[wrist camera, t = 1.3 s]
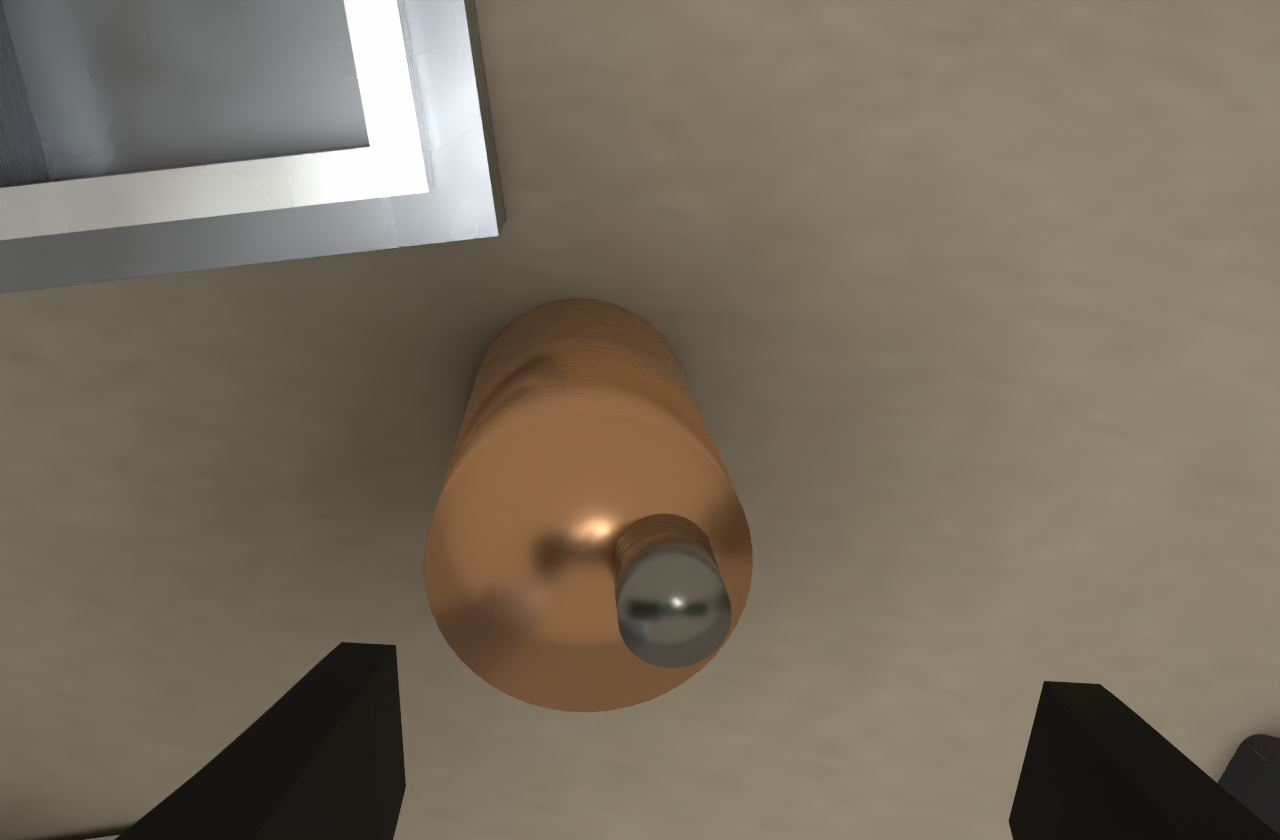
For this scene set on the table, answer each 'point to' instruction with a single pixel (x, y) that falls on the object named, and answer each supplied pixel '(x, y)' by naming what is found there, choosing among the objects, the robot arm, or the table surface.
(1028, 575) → the table surface
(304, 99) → the grey peg holder base
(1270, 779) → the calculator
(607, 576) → the copper cylinder
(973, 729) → the table surface
